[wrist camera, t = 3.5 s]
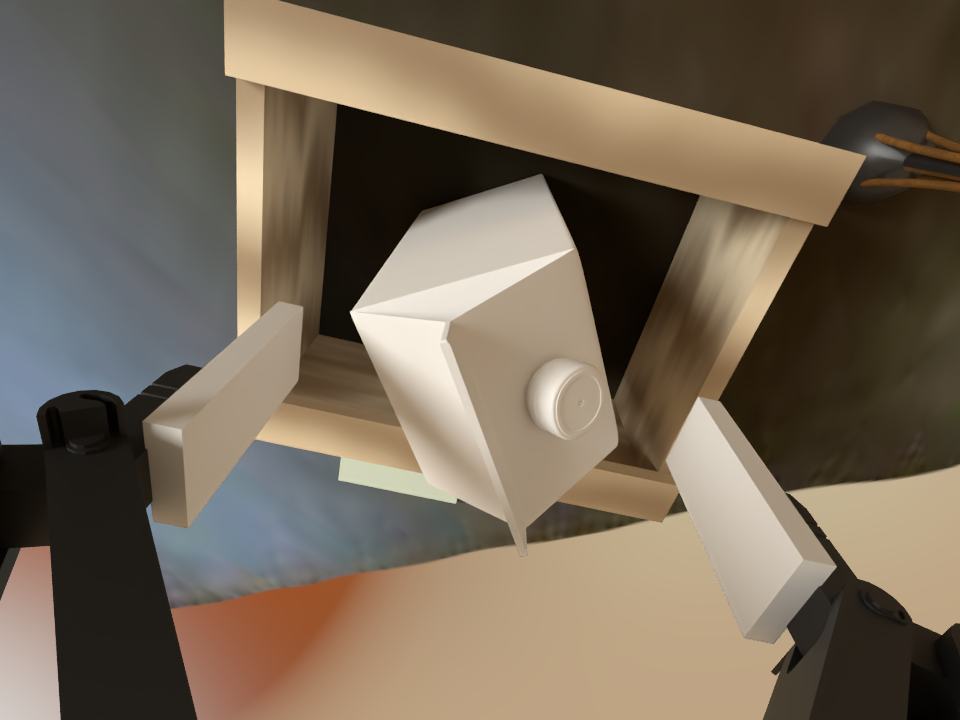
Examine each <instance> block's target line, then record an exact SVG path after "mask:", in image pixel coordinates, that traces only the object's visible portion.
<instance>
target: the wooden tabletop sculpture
mask: <svg viewBox="0 0 960 720" xmlns="http://www.w3.org/2000/svg"><path fill="white" fill-rule="evenodd" d="M819 144H823V145H827V146H831V147H835V148H838V149H842V150H846V151H850V152H854V153H857V154H861V155H865V156H866V158H865V160H864V162H863V163H862V165H861V167H860V169H859V171H858V172H857V174H856V176H855V178H854V180H853V181H852V183H851V185H850V187H849V189H848V190H847V192H846V194H845V196H844V198H843V199H842V200H846V201H852V202H857V203H865V204H872V203H875V202H878V201H881V200H884V199H886V198H889V197H891V196H893V195H896V194H898V193H901V192H903V191H905V190H908V189H909V188H910V187H914V188H924V189H935V190H945V191H952V192H959V193H960V144H959V143H955V142H953V141H950V140H948V139H945V138H943V137H940V136H938V135H935V134H934V132H933V130H932V128H931V126H930V124H929V123H928V121H927V119H926V117H925V116H924V115H923V113H922V112H921V111H920V110H917V109H914V108H911V107H906V106H900V105H895V104H890V103H885V102H876V101H872V102H870V103H867V104H865V105H863V106H861V107H859V108H857V109H854V110H852V111H850V112H848V113H846V114H844V115H842V116H840V117H839V118H838V119H837V121H836V122H835V123H834V124H833V126H832V127H831V128H830V130H829V131H828V132H827V133H826V135H825V136H824V137H823V138H822V140H821V141H820V142H819ZM935 145H937V146H940V147H942V148H944V149H947V150H949V151H946V150H941V149H937V148H935ZM950 151H951V152H950ZM922 174H927V175H932V176H937V177H925V176H921V175H922Z"/></svg>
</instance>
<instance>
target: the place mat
mask: <svg viewBox="0 0 960 720" xmlns="http://www.w3.org/2000/svg"><path fill="white" fill-rule="evenodd" d="M338 480H341V481H346V482H351V483H356V484H360V485H365V486H370V487H375V488H380V489H385V490H390V491H395V492H400V493H405V494H410V495H415V496H420V497H425V498H430V499H435V500H440V501H445V502H450V503H455V504H456V501H457V498H456V497H454V496H452V495H450V494H448V493H446V492H444V491H442V490H440V489H438V488H435V487H433V486H431V485H430V484H428V482H427V481H426V479H425V477H424V475H423V474H422V473H417V472H412V471H408V470H403V469H398V468H393V467H388V466H383V465H378V464H373V463H369V462H364V461H359V460H354V459H349V458H344V457H341V463H340V471H339V479H338Z"/></svg>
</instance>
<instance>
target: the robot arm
mask: <svg viewBox="0 0 960 720" xmlns="http://www.w3.org/2000/svg"><path fill="white" fill-rule="evenodd" d="M302 319H303V307H302V306H298V305H294V304H289V303H285V302H280V301H279V302H278V303H276V304H275V305H274V306H273V307H272V308H271V309H270V310H268V311H267V312H266V313H265V314H264V315H263V316H262V317H261V318H259V319H258V320H257V321H256V322H255V323H254V324H253V325H251V326H250V327H249V328H248V329H247V330H246V331H245V332H243V333H242V334H241V335H240V336H239V337H238V338H237V339H235V340H234V341H233V342H232V343H231V344H230V345H229V346H228V347H226V348H225V349H224V350H223V351H222V352H221V353H220V354H218V355H217V356H216V357H215V358H214V359H213V360H212V361H210V362H209V363H208V364H207V365H206V366H205V367H204V368H201V367H196V366H191V365H187V364H186V365H183V366H181V367H178V368H176V369H173V370H170V371H168V372H166V373H165V374H163V375H162V376H161V377H160V378H158V379H157V380H156V381H154V382H153V383H152V386H151V385H149V386H148V387H147V388H146V389H144V390H143V391H142V392H141V394H140V395H139V394H138V395H137V396H136V397H134V398H133V399H132V400H131V401H129V402H128V403H127V404H126V405H124V403H123V401H122V400H121V398H120V397H119V396H117V395H115V394H112V393H110V392H105V391H98V390H86V391H76V392H71V393H67V394H63V395H60V396H58V397H55V398H53V399H51V400H49V401H47V402H46V403H45V404H44V405H42V406H41V407H40V408H39V410H38V413H37V416H36V417H37V421H38V426H39V430H40V434H41V439H42V443H43V444H38V445H1V441H0V600H1V597H2V595H3V592H4V589H5V587H6V584H7V582H8V579H9V577H10V574H11V571H12V569H13V566H14V564H15V561H16V559H17V556H18V554H19V551H20V548H23V547H37V546H50V552H51V568H52V582H53V583H52V585H53V601H54V617H55V633H56V650H57V665H58V681H59V698H60V713H61V720H197V716H196V712H195V708H194V704H193V700H192V696H191V692H190V687H189V683H188V679H187V675H186V671H185V667H184V663H183V659H182V655H181V651H180V647H179V642H178V639H177V634H176V630H175V626H174V622H173V618H172V614H171V610H170V606H169V602H168V597H167V593H166V589H165V585H164V581H163V577H162V573H161V569H160V565H159V561H158V557H157V553H156V548H155V544H154V540H153V536H152V532H151V528H150V524H149V520H148V516H147V512H146V508H147V507H148V506H149V504H150V503H151V507H152V516H153V522H158V523H163V524H168V525H173V526H178V527H183V528H189V526H190V525H191V524H192V522H193V521H194V520H195V518H196V517H197V516H198V514H199V513H200V512H201V510H202V509H203V508H204V506H205V505H206V504H207V502H208V501H209V500H210V498H211V497H212V496H213V494H214V493H215V491H216V490H217V489H218V487H219V486H220V485H221V483H222V482H223V481H224V479H225V478H226V477H227V475H228V474H229V473H230V471H231V470H232V469H233V467H234V466H235V465H236V463H237V462H238V461H239V459H240V458H241V457H242V455H243V454H244V453H245V451H246V450H247V449H248V447H249V446H250V445H251V443H252V442H253V441H254V439H255V438H256V437H257V435H258V434H259V433H260V431H261V430H262V429H263V427H264V426H265V425H266V423H267V422H268V420H269V419H270V418H271V416H272V415H273V414H274V412H275V411H276V410H277V408H278V407H279V406H280V404H281V403H282V402H283V400H284V399H285V398H286V396H287V395H288V394H289V392H290V391H291V390H292V388H293V387H294V386H295V384H296V383H297V382H298V379H299V364H300V349H301V334H302ZM666 463H667V465H668V467H669V470H670V472H671V474H672V476H673V479H674V481H675V483H676V486H677V488H678V490H679V492H680V495H681V497H682V499H683V501H684V504H685V506H686V508H687V511H688V513H689V515H690V517H691V520H692V522H693V524H694V526H695V529H696V531H697V533H698V535H699V538H700V540H701V542H702V544H703V547H704V549H705V551H706V554H707V556H708V558H709V561H710V563H711V565H712V567H713V570H714V572H715V574H716V576H717V579H718V581H719V583H720V586H721V588H722V590H723V592H724V595H725V597H726V599H727V601H728V604H729V606H730V608H731V610H732V613H733V615H734V617H735V620H736V622H737V624H738V626H739V629H740V631H741V633H742V635H743V638H746V639H752V640H756V641H761V642H766V643H771V644H774V643H775V642H776V641H777V639H778V638H779V637H780V636H781V634H782V633H783V632H784V631H785V630H786V628H788V630H789V632H790V634H791V635H792V638H793V639H794V641H795V644H794V645H793V647H792V648H791V649H790V650H789V651H788V652H787V653H786V655H785V656H784V657H783V658H782V659H781V661H780V662H779V663H778V664H777V665H776V666H775V668H774V669H773V670H772V671H771V672H772V673H773V674H774V675H777V674H778V673H779V672H780V674H779V676H778V679H777V682H776V685H775V687H774V690H773V693H772V696H771V698H770V701H769V704H768V707H767V710H766V712H765V715H764V718H763V720H960V624H958V623H956V624H954V625H953V626H951V627H950V628H949V629H948V630H947V631H946V632H945V633H944V634H943V635H940V634H938V633H936V632H933V631H931V630H929V629H927V628H924V627H922V626H920V625H918V624H915V623H913V622H912V619H911V617H910V616H909V614H908V613H907V611H906V610H905V608H904V607H903V606H902V605H901V604H900V603H899V602H898V601H897V600H896V599H894V598H893V597H892V596H891V595H889V594H888V593H887V592H885V591H884V590H882V589H881V588H879V587H877V586H875V585H873V584H871V583H869V582H866V581H863V580H859V579H857V577H856V576H855V575H854V573H853V572H852V570H851V569H850V568H849V566H848V565H847V564H846V562H845V561H844V560H843V558H842V557H841V556H840V554H839V553H838V551H837V550H836V549H835V547H834V546H833V545H832V543H831V542H830V540H828V539H826V535H825V534H824V532H823V531H822V529H821V528H820V527H817V523H816V521H815V520H814V519H813V517H812V516H811V514H810V513H809V512H808V510H807V509H806V508H805V507H803V505H801V504H800V503H799V502H798V501H797V500H796V499H795V498H794V497H792V496H791V495H790V494H787V493H785V492H784V491H783V490H782V488H781V487H780V485H779V484H778V483H777V481H776V480H775V478H774V477H773V476H772V474H771V473H770V471H769V470H768V468H767V467H766V466H765V464H764V463H763V461H762V460H761V459H760V457H759V456H758V454H757V453H756V451H755V450H754V449H753V447H752V446H751V444H750V443H749V442H748V440H747V439H746V437H745V436H744V435H743V433H742V432H741V430H740V429H739V427H738V426H737V425H736V423H735V422H734V420H733V419H732V418H731V416H730V415H729V413H728V412H727V410H726V409H725V408H724V406H723V405H722V403H721V402H720V401H716V400H712V399H707V398H703V397H698V398H697V400H696V402H695V404H694V406H693V408H692V410H691V412H690V414H689V415H688V417H687V419H686V421H685V423H684V425H683V427H682V429H681V431H680V433H679V435H678V437H677V439H676V441H675V443H674V445H673V447H672V449H671V451H670V453H669V455H668V457H667V459H666Z"/></svg>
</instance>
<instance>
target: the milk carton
mask: <svg viewBox="0 0 960 720" xmlns="http://www.w3.org/2000/svg"><path fill="white" fill-rule="evenodd" d="M350 314H351V316H352V319H353V321H354V324H355V326H356V328H357V330H358V333H359V335H360V337H361V339H362V341H363V344H364V346H365V348H366V350H367V352H368V354H369V357H370V359H371V361H372V363H373V365H374V368H375V370H376V372H377V374H378V376H379V379H380V381H381V383H382V385H383V387H384V389H385V392H386V394H387V396H388V398H389V400H390V403H391V405H392V407H393V409H394V411H395V414H396V416H397V418H398V420H399V422H400V424H401V427H402V429H403V431H404V433H405V435H406V438H407V440H408V442H409V444H410V446H411V449H412V451H413V453H414V455H415V457H416V459H417V462H418V464H419V466H420V468H421V470H422V472H423V475H424V477H425V479H426V481H427V482H428V484H430V485H431V486H433V487H435V488H438V489H440V490H442V491H444V492H446V493H448V494H450V495H452V496H454V497H456V498H458V499H460V500H462V501H464V502H466V503H468V504H471V505H473V506H475V507H477V508H479V509H481V510H483V511H485V512H487V513H489V514H491V515H493V516H495V517H497V518H499V519H501V520H504V521H506V522H508V525H509V528H510V530H511V533H512V536H513V538H514V541H515V544H516V546H517V548H518V551H519V554H520V557H524V556H527V542H526V528H527V527H528V526H529V525H530V524H531V523H532V522H533V521H534V520H536V519H537V518H538V517H539V516H540V515H541V514H542V513H543V512H545V511H546V510H547V509H548V508H549V507H550V506H551V505H552V504H553V503H555V502H556V501H557V500H558V499H559V498H560V497H561V496H562V495H564V494H565V493H566V492H567V491H568V490H569V489H570V488H571V487H572V486H574V485H575V484H576V483H577V482H578V481H579V480H580V479H581V478H583V477H584V476H585V475H586V474H587V473H588V472H589V471H590V470H591V469H593V468H594V467H595V466H596V465H597V464H598V463H599V462H600V461H602V460H603V459H604V458H605V457H606V456H607V455H608V454H609V453H610V452H612V451H613V450H614V449H615V448H616V447H617V446H618V431H617V425H616V420H615V415H614V410H613V405H612V401H611V396H610V391H609V387H608V382H607V378H606V373H605V368H604V364H603V359H602V355H601V350H600V345H599V341H598V336H597V332H596V327H595V322H594V318H593V313H592V309H591V304H590V299H589V295H588V290H587V286H586V281H585V277H584V273H583V269H582V265H581V261H580V257H579V254H578V251H577V248H576V246H575V243H574V241H573V239H572V237H571V234H570V232H569V230H568V228H567V226H566V224H565V221H564V219H563V217H562V215H561V213H560V211H559V209H558V206H557V204H556V202H555V200H554V198H553V196H552V193H551V191H550V189H549V187H548V185H547V183H546V180H545V178H544V176H543V175H542V174H539V175H536V176H532V177H529V178H526V179H523V180H520V181H516V182H513V183H510V184H507V185H503V186H500V187H497V188H494V189H491V190H487V191H484V192H481V193H478V194H474V195H471V196H468V197H465V198H462V199H458V200H455V201H452V202H449V203H446V204H442V205H439V206H436V207H433V208H429V209H426V210H423V211H421V212H420V214H419V215H418V217H417V218H416V220H415V221H414V222H413V224H412V225H411V227H410V228H409V230H408V231H407V232H406V234H405V235H404V237H403V238H402V240H401V241H400V242H399V244H398V245H397V247H396V248H395V249H394V251H393V252H392V254H391V255H390V257H389V258H388V259H387V261H386V262H385V264H384V265H383V267H382V268H381V269H380V271H379V272H378V274H377V275H376V277H375V278H374V279H373V281H372V282H371V284H370V285H369V287H368V288H367V289H366V291H365V292H364V294H363V295H362V296H361V298H360V299H359V301H358V302H357V304H356V305H355V306H354V308H353V309H352V311H350Z"/></svg>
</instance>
